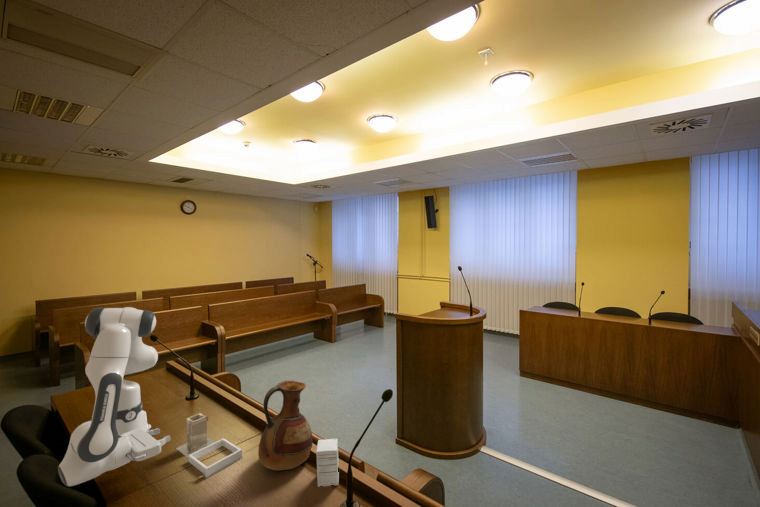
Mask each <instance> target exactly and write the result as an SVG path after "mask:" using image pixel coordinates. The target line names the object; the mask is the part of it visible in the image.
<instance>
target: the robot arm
mask: <svg viewBox="0 0 760 507" xmlns="http://www.w3.org/2000/svg"><path fill="white" fill-rule="evenodd" d="M156 326H157V318H156V314H155V313H154V312H153V311H151V310H147V309H144V310H143V309H137V308H135V307H131V306H125V307H96V308H93V309H92V310H90V311H89V313H88V315H87V316H86V317H85V320H84V327H85V332H86V333H87V334H88V335H90V336H92V338H93V339H94V340H95V341H94V344H93V346H92V349H91V352H90V356H89V358H88V361H87V363H86V365H85V368H84V369H85V370H84V371H85V375H86V377H87V378H88V381H89V382H90V384H91V386H92V387H93V389H94V394H95V400H94V406H93V411H92V416H91V420H87V421H85V422H82V423H81V424H79V425H78V426H77V427H76V428H75V429H74V430H72V432H71V435H70V437H69V443H68V446H67V450H66V453H65V454H64V457H63V459H62V461H61V462H60V463H59V465H58V466H57V473H58V476H59V479H60V480H61V483H62V485H63V484H64V485H65V486H66V487H75V486H77V485H80V484H83V483H86V482H88V481H91V480H93V479H95V478H97V477H99V476H100V475H102V474H104V473H105V472H109V471H112V470H115V469H117V468H120V467H122V466H125V465H126V464H129V463H130V462H131V461H136V462H141V461H145V460H147V459H150V458H153V457H155V456H158V455H159V454H160V453H161V452H162V447H163V446H164V445H165V444H166V443H168V442H170V441H171V438H172V437H171V435H169V434H167V435H165V436H163V438H161V439H158V440H157V439H156V438H155V437H154V435H155V436H156V435H159V434H161V429H160V428H158V427H156V428H155V429H151V428H152V425H151V424H150V423H148V419H147V412H146V411H145V410H143V401H142V400H141V399H142V398H141V386H140V384H139V383H138V382H136V381H132V380H127V379H124V376H126V375H127V376H128V375H131V374H135V373H139V372H144V371H146V370H148V369H150V368H153V367H154V366H156V364H157V361H158V360H159V353H158V351H157V349H155V347H154V346H152V345H151V346H150V345H148V344H145V343H144V342H143V337H149V336H150V335H151V334H152V333H153V331H154V330H155V327H156Z"/></svg>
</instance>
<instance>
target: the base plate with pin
mask: <svg viewBox="0 0 760 507" xmlns="http://www.w3.org/2000/svg"><path fill="white" fill-rule="evenodd" d="M215 442H217V441H215V440H214V439H212V438H211V437H210V436H208V435H207V445H206V446H204V447H207V446H209V445H211V444H213V443H215ZM204 447H202V448H204ZM202 448H200V449H202ZM175 449H176V450H178V452H180V453H181V454H182V455H184V456H185V457H186V458H188V455H190V454H192V453H194V452H196V451H198V450H200V449H198V450H196V451H192V450H191V449H189V448H188V447H187V442H186V443H184V444H182V445H179V446H178V447H176V448H175Z"/></svg>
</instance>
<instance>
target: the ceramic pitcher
mask: <svg viewBox="0 0 760 507" xmlns="http://www.w3.org/2000/svg"><path fill="white" fill-rule="evenodd" d="M306 386H307V384H306V383H305V382H300V381H297V380H284V381H280V383H277V384H276V385H275V386H273V387H272V388H270V389H269V390H268V391H267V392H266V394H265V397H264V399H263V412H264V415H265V419H266V422H267V423H266V424H267V425H266V427H265V429H264V430H263V432H262V434H261V437H260V440H259V445H258V460H259V462H260V463H261V465H262V466H264V467H265V468H266V469H269V470H272V471H283V470H284V471H285V470H286V471H287V470H291V469H294V468H296V467H298V466H300V465H301V464H303V463H304V462H306V461H307V460H308V459H309V457H310V456H311V454H310V450H311V448H313V433H312V429H311V426H310V423H309V421H308V420H307V419H306V417H305V416H304V415H303V414H302V413H300V407H299V404H300V402H301V393H302V391H303V390H304V389H306ZM276 392H281V394H282V397H283V400H282V407H281V409H280V412H279V413H278V414H276V415H275V416H273V417H271V416H270V414H269V410H268V406H269V405H268V404H269V401H270V398H271V396H272V395H273V394H275V393H276ZM311 451H312V450H311ZM309 455H310V456H309Z"/></svg>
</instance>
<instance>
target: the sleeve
mask: <svg viewBox="0 0 760 507" xmlns="http://www.w3.org/2000/svg"><path fill="white" fill-rule="evenodd" d="M185 420H186V421H185V424H186V427H185V428H186V443H187V447H188V448H189V449H191V450H192V451H196V450H198V449H200V448H202V447H204V446H206V445H207V436H208V427H207V426H208V425H207V422H209V415H207V414H205V415H204V414H202V413H201V412H199V413H196V414H193V415H192V416H189V417H186V418H185Z"/></svg>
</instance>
